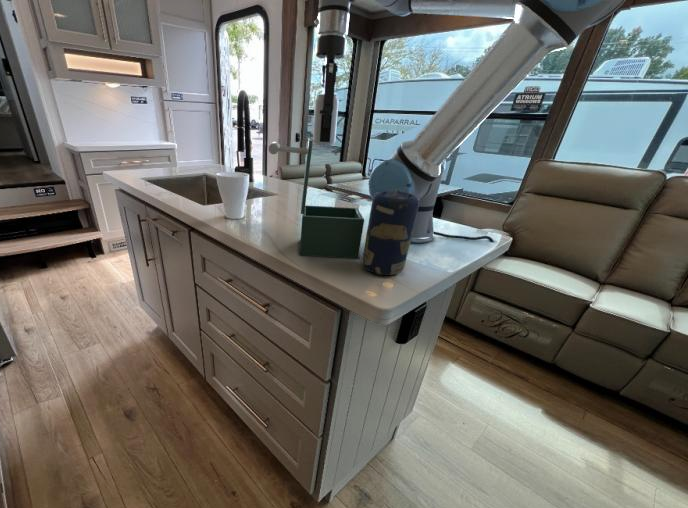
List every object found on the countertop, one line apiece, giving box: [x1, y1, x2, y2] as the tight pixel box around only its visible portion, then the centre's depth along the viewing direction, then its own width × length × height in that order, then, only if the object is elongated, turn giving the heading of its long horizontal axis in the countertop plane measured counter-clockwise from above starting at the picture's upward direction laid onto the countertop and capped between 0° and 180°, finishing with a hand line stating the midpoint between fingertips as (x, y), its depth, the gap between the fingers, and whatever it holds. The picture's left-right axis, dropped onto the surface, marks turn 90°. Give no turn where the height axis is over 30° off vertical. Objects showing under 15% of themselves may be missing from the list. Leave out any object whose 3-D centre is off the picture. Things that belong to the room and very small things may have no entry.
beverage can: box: [312, 93, 340, 146], centre depth 87 cm, size 6×6×12 cm
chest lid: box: [268, 137, 314, 215], centre depth 75 cm, size 16×11×10 cm
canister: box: [361, 189, 419, 276], centre depth 69 cm, size 10×10×18 cm
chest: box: [299, 204, 365, 259], centre depth 81 cm, size 15×11×10 cm
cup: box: [215, 171, 250, 220], centre depth 104 cm, size 10×10×14 cm
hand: (324, 141), depth 89 cm, fingers closed on beverage can, 6 cm apart
